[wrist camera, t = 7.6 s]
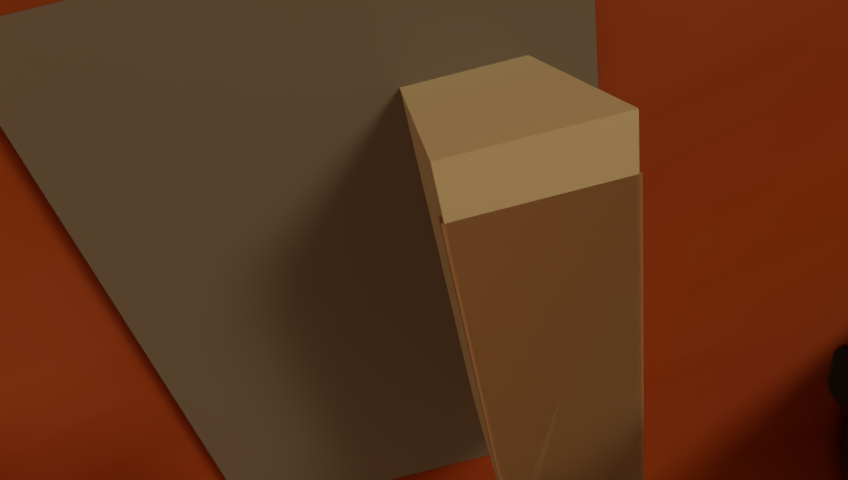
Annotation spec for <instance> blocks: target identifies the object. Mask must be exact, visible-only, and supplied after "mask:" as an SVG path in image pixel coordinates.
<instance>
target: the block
mask: <svg viewBox="0 0 848 480" xmlns="http://www.w3.org/2000/svg"><path fill="white" fill-rule="evenodd" d="M400 91H401V96H402V100H403V104H404V108H405V112H406V117H407V121H408V125H409V129H410V133H411V138H412V142H413V146H414V150H415V155H416V159H417V163H418V167H419V171H420V176H421V180H422V184H423V188H424V192H425V197H426V201H427V205H428V209H429V213H430V218H431V222H432V226H433V230H434V235H435V239H436V243H437V247H438V251H439V256H440V260H441V264H442V268H443V272H444V277H445V281H446V285H447V289H448V293H449V298H450V302H451V306H452V310H453V315H454V319H455V323H456V327H457V331H458V336H459V340H460V344H461V348H462V352H463V357H464V361H465V365H466V369H467V373H468V378H469V382H470V386H471V390H472V395H473V399H474V402H475V406H476V409H477V412H478V416H479V419H480V423H481V426H482V430H483V433H484V437H485V440H486V444H487V447H488V451H489V454H490V458H491V461H492V465H493V468H494V472H495V475H496V479H497V480H644V387H643V173H642V172H640V171H639V108H637V107H634V106H632V105H630V104H628V103H626V102H624V101H622V100H620V99H618V98H616V97H614V96H612V95H610V94H608V93H606V92H604V91H602V90H599V89H597V88H595V87H593V86H591V85H589V84H587V83H585V82H583V81H581V80H579V79H577V78H575V77H573V76H571V75H569V74H567V73H565V72H562V71H560V70H558V69H556V68H554V67H552V66H550V65H548V64H546V63H544V62H542V61H540V60H538V59H536V58H534V57H532V56H530V55H526V56H523V57H519V58H515V59H511V60H507V61H503V62H499V63H495V64H491V65H487V66H483V67H479V68H475V69H471V70H467V71H463V72H459V73H455V74H451V75H447V76H444V77H440V78H436V79H432V80H428V81H424V82H420V83H416V84H412V85H408V86H404V87H400Z"/></svg>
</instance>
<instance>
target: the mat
mask: <svg viewBox="0 0 848 480" xmlns="http://www.w3.org/2000/svg"><path fill="white" fill-rule="evenodd" d="M526 55H530V56H532V57H534V58H536V59H538V60H540V61H542V62H544V63H546V64H548V65H550V66H552V67H554V68H556V69H558V70H560V71H562V72H565V73H567V74H569V75H571V76H573V77H575V78H577V79H579V80H581V81H583V82H585V83H587V84H589V85H591V86H593V87H595V88H597V89H598V66H597V42H596V18H595V0H65V1H61V2H57V3H53V4H49V5H44V6H40V7H36V8H32V9H28V10H24V11H20V12H16V13H12V14H8V15H3V16H0V126H1V128H2V130H3V131H4V133H5V134H6V136H7V137H8V139H9V141H10V142H11V144H12V145H13V147H14V148H15V150H16V151H17V153H18V155H19V156H20V158H21V159H22V161H23V162H24V164H25V166H26V167H27V169H28V170H29V172H30V173H31V175H32V177H33V178H34V180H35V181H36V183H37V184H38V186H39V187H40V189H41V191H42V192H43V194H44V195H45V197H46V198H47V200H48V202H49V203H50V205H51V206H52V208H53V209H54V211H55V213H56V214H57V216H58V217H59V219H60V220H61V222H62V223H63V225H64V227H65V228H66V230H67V231H68V233H69V234H70V236H71V238H72V239H73V241H74V242H75V244H76V245H77V247H78V248H79V250H80V252H81V253H82V255H83V256H84V258H85V259H86V261H87V263H88V264H89V266H90V267H91V269H92V270H93V272H94V274H95V275H96V277H97V278H98V280H99V281H100V283H101V284H102V286H103V288H104V289H105V291H106V292H107V294H108V295H109V297H110V299H111V300H112V302H113V303H114V305H115V306H116V308H117V310H118V311H119V313H120V314H121V316H122V317H123V319H124V320H125V322H126V324H127V325H128V327H129V328H130V330H131V331H132V333H133V335H134V336H135V338H136V339H137V341H138V342H139V344H140V346H141V347H142V349H143V350H144V352H145V353H146V355H147V356H148V358H149V360H150V361H151V363H152V364H153V366H154V367H155V369H156V371H157V372H158V374H159V375H160V377H161V378H162V380H163V382H164V383H165V385H166V386H167V388H168V389H169V391H170V392H171V394H172V396H173V397H174V399H175V400H176V402H177V403H178V405H179V407H180V408H181V410H182V411H183V413H184V414H185V416H186V418H187V419H188V421H189V422H190V424H191V425H192V427H193V428H194V430H195V432H196V433H197V435H198V436H199V438H200V439H201V441H202V443H203V444H204V446H205V447H206V449H207V450H208V452H209V454H210V455H211V457H212V458H213V460H214V461H215V463H216V464H217V466H218V468H219V469H220V471H221V472H222V474H223V475H224V477H225V479H226V480H392V479H396V478H400V477H404V476H408V475H412V474H416V473H420V472H424V471H428V470H431V469H435V468H439V467H443V466H447V465H451V464H455V463H459V462H463V461H467V460H470V459H474V458H478V457H482V456H486V455H490V454H489V451H488V447H487V444H486V440H485V437H484V433H483V430H482V426H481V423H480V419H479V416H478V412H477V409H476V406H475V402H474V399H473V395H472V390H471V386H470V382H469V378H468V373H467V369H466V365H465V361H464V357H463V352H462V348H461V344H460V340H459V336H458V331H457V327H456V323H455V319H454V315H453V310H452V306H451V302H450V298H449V293H448V289H447V285H446V281H445V277H444V272H443V268H442V264H441V260H440V256H439V251H438V247H437V243H436V239H435V235H434V230H433V226H432V222H431V218H430V213H429V209H428V205H427V201H426V197H425V192H424V188H423V184H422V180H421V176H420V171H419V167H418V163H417V159H416V155H415V150H414V146H413V142H412V138H411V133H410V129H409V125H408V121H407V117H406V112H405V108H404V104H403V100H402V96H401V91H400V87H404V86H408V85H412V84H416V83H420V82H424V81H428V80H432V79H436V78H440V77H444V76H447V75H451V74H455V73H459V72H463V71H467V70H471V69H475V68H479V67H483V66H487V65H491V64H495V63H499V62H503V61H507V60H511V59H515V58H519V57H523V56H526Z"/></svg>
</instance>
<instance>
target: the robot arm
mask: <svg viewBox="0 0 848 480" xmlns="http://www.w3.org/2000/svg"><path fill="white" fill-rule="evenodd" d="M827 385H828V388H829V391H830V393H831V394H832V396H833V397H834V399H835V400H836V401H837V403H838V404H839V405H840V406H841V408H842V409H843V410H844V412H845V413H846V414H847V415H848V344H846V345H842V346H839V347H838V348H836V349H835V351H834V354H833V358H832V362H831V366H830V370H829V374H828V378H827Z"/></svg>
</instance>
